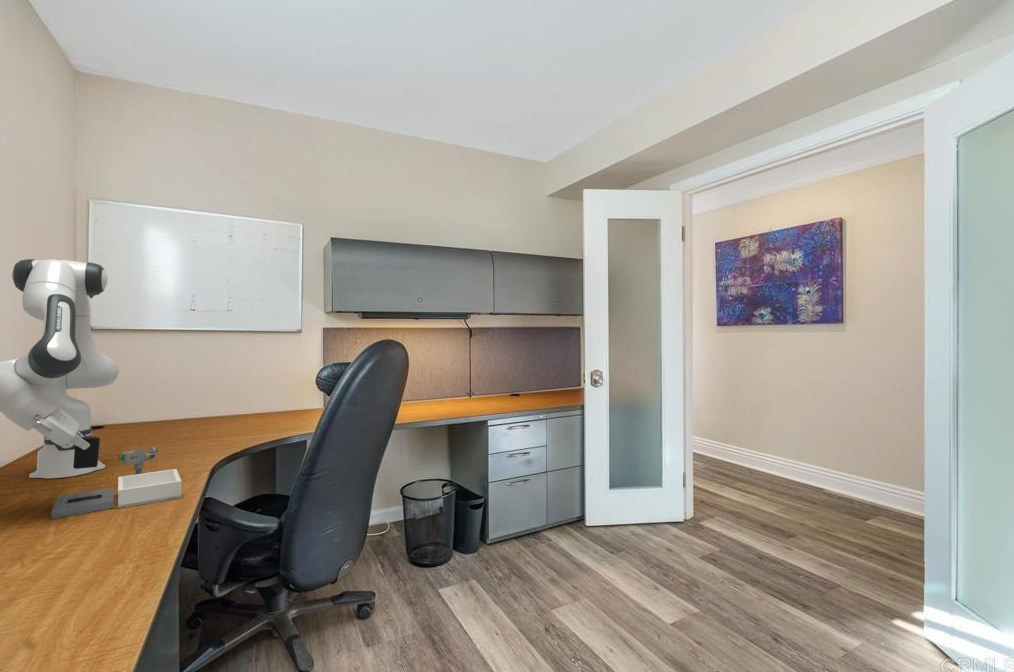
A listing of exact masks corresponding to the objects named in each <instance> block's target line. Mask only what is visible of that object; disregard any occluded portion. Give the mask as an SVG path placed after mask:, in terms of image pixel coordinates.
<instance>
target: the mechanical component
mask: <svg viewBox="0 0 1014 672" xmlns="http://www.w3.org/2000/svg"><path fill="white" fill-rule="evenodd" d="M148 451H149V452H147V451H146V450H145V449H143V448H139V449H135V450H134V449H133V450H130V451H129V450H127V451H123V452H120V454H119V455H118V460H120V461H121V464H122V465H127V466H132V465H133V469H135V475H136V474H143V468H145V466H144V463H146V462H151V461H154V460H156V458H157V453H158V451H159V449H158V447H150V448H149V450H148ZM146 457H148V458H146Z"/></svg>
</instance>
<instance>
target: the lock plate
mask: <svg viewBox="0 0 1014 672" xmlns="http://www.w3.org/2000/svg"><path fill="white" fill-rule="evenodd" d="M114 495H115V488H114V487H112V488H105V489H98V490H91V491H84V492H80V493H79V492H78V493H71V494H66V495H58V496H56V499H55V501H54V504H53V507H52V509H51V520H54V519H60V518H66V517H72V516H78V515H83V514H89V513H88V512H90V513H93V512H92V511H96V512H99V511H98V510H102V511H105V510H104V509H108V510H110V509H109V508H113V509H114V504H115V503H114V501H115V500H114V497H115V496H114Z"/></svg>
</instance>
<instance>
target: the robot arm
mask: <svg viewBox="0 0 1014 672" xmlns="http://www.w3.org/2000/svg"><path fill="white" fill-rule="evenodd" d="M11 279H12V282H13V284H14V286H15V288H16V289H18V290H19V291H21V292H22V302H21V303H22V309H23V311H25V313H26V314H28V315H29V316H30V317H31V318H34V319H36V320H40V321H43V328H42V336H41V338H40V339H39V340H38V341H37V342H36V343H35V344H34V345H33V346H32V347H31V348H30V349H29V350H28V351H27V352H26V353H24V354H23V355H22V356H21V357H17V358H14V359H8V360H2V361H0V413H1V414H3V415H4V416H5V418H7V420H9V421H11V422H12V423H14V424H15V425H17V426H18V427H21V429H23V430H25V431H26V432H29V431H31V430H32V429H34V430H36V431H37V432H38V433H40V434H41V435H42V436H43V444H44V446H42V447H41V448H40V449H39V450H38V451H37V459H36V470H35V471H33V472H31V473H30V474H29V477H28V478H29V479H36V478H37V479H39V478H40V479H59V478H69V477H75V476H79V475H84V474H88V473H92V472H94V471H99V470H104V469H105V468H106V465H105V464H104V463H102V462H101V461H100V460H99V457H100V455H98V465H97V467H91V468H80V469H75V468H73V465H74V452H75V445H76V446H79V447H80V448H82V449H83V450H85V449H87V448H88V447H89V446H90V443H89V442H87V441H86V440H83V439H82V438H80V437H93V428H92V427H91V412H92V411H91V406H90V405H89V404H88V403H87V402H85V401H84V400H80V399H78V398H74V397H72V396H70V395H69V394H68V392H67V390H70V389H71V390H74V389H76V390H77V389H95V388H101V387H104V386H105V387H106V386H110V385H112V384H113V383H115V381H116V379H117V378H118V377H119V371H120V370H119V366H118V364H117V363H116V361H115V360H114V359H113V358H111V357H110V356H108V355H107V354H105V353H104V352H102V351H101V350H100V349H99V348H98V347H97V345H96V344H95V342H94V339H93V337H92V336H93V335H92V327H91V306H90V300H89V299H93V298H94V296H97V295H100V294H102V293H103V292H104V291H105V289H106V287H107V284H108V275H107V272H106V270H105V268H104V267H103V266H102V265H101V264H98V263H95V262H91V261H90V262H83V261H76V260H69V259H68V260H67V259H52V258H51V259H34V258H31V259H29V258H28V259H27V258H26V259H21V260H19V261H17V262H16V263H15V264H14V267H13V268H12V272H11Z"/></svg>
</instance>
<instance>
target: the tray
mask: <svg viewBox="0 0 1014 672" xmlns="http://www.w3.org/2000/svg"><path fill="white" fill-rule="evenodd" d="M117 477H118V478H117V481H118V483H117V484H118V487H117V488H118V489H117V493H118V494H117V509H118V508H120V509H123V508H122V507H126V508H130V507H129V506H131V507H137V506H142V505H147V504H149V505H150V504H155V503H159V502H166V501H172V500H177V499H182V478H181V476H180V474H179V472H178V470H177V468H174V469H166V470H158V471H151V472H145V473H143V472H142V474H136V473H135V474H130V475H124V476H123V475H122V476H117ZM136 505H137V506H136Z"/></svg>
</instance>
